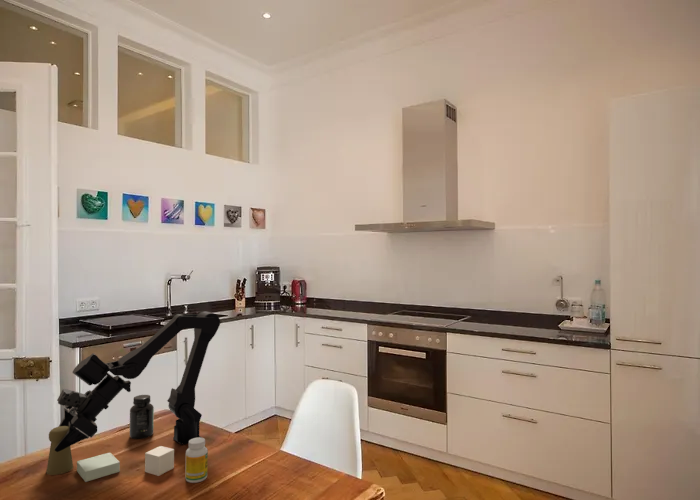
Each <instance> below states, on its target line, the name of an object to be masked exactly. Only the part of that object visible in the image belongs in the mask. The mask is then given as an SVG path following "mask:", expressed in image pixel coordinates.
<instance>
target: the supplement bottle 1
mask: <svg viewBox="0 0 700 500" xmlns="http://www.w3.org/2000/svg"><path fill="white" fill-rule="evenodd" d="M151 401H152V400H151V395H149V394H139V395H136V396H134V397H133V401H132V404H133V405H132V406H131V407H130V409H129V437H130V438H131V439H133V440H143V439H146V438H150V437H151V436H152V435H153V434H154V419H155V418H154V417H155V414H154V411H155V410H154V409H155V408H154V405H153V404H152V403H151Z"/></svg>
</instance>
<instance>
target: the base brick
mask: <svg viewBox="0 0 700 500" xmlns="http://www.w3.org/2000/svg"><path fill="white" fill-rule="evenodd" d="M120 463H121V462H120V460H118V459H117V458H116V457H115V456H114V454H112V453H111V452H107V453H106V452H105V453H102V454H99V455H96V456H92V457H88V458H84V459H80V460H77V461H76V471H77V473H78V474H79V476H80V477H81V478H82V479H83V481H84V482H85V483H87V482H89V481H93V480H96V479H99V478H103V477H106V476H109V475H113V474H116V473H120V472H121V469H120V467H121V464H120Z"/></svg>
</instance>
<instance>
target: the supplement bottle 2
mask: <svg viewBox="0 0 700 500" xmlns="http://www.w3.org/2000/svg"><path fill="white" fill-rule="evenodd" d="M205 445H206V438H204V437H202V438H193V439H191V440H189V443H188V446H187V447H188V448H187V449H186V450H185V468H184V470H185V474H184V477H185V481H186V482H187V483H191V484H196V483H200V482H203V481H205V480H206V479H207V477H208V465H209V464H208V462H209V461H208V460H209V459H208V457H209V456H208V455H209V454H208V453H209V451H208V448H207V447H206V446H205Z"/></svg>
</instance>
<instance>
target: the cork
mask: <svg viewBox="0 0 700 500" xmlns="http://www.w3.org/2000/svg"><path fill="white" fill-rule="evenodd" d="M58 426H59V425H58ZM58 426H56V427H54V428H52V429H50V431H49V433H48V440H49V442H50V446H49V452H48V453H49V454H48V459H47V465H46V471H45V472H46V475H50V476H56V475H62V474H65V473H68V472H70V471H72V469H73V468H74V464H73V456H72V448H71V446H69V447H67V448H65V449H63V450H61V451H59V452H56V451H55V450H54V449H55V448H56V446H57V445H58V443H59V442H60V441H61V439H62V438H63V437H64V436H65V434H66V433H67V432H68V430H69V427H68V426H59V427H58Z"/></svg>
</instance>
